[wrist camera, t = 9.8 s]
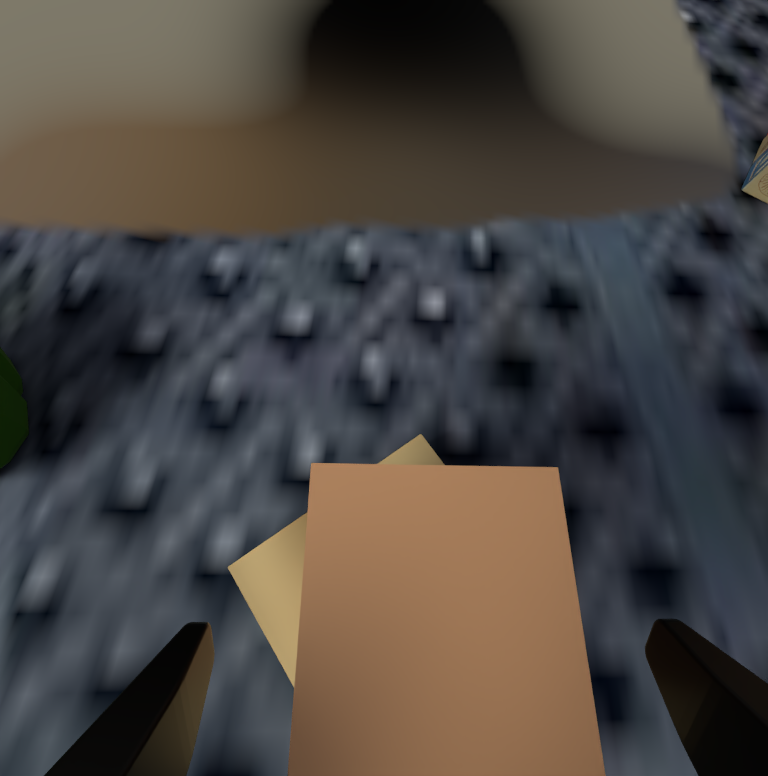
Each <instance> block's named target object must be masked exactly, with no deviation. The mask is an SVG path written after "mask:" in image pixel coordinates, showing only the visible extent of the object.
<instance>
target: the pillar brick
mask: <svg viewBox="0 0 768 776" xmlns="http://www.w3.org/2000/svg"><path fill="white" fill-rule="evenodd" d="M288 776H605V770H604V763H603V757H602V750H601V744H600V737H599V731H598V724H597V718H596V711H595V705H594V698H593V692H592V685H591V679H590V672H589V666H588V659H587V653H586V646H585V640H584V633H583V627H582V620H581V614H580V607H579V601H578V594H577V588H576V581H575V575H574V568H573V562H572V555H571V549H570V542H569V536H568V529H567V523H566V516H565V510H564V503H563V497H562V490H561V484H560V477H559V471H558V467H511V466H452V465H393V464H335V463H311V474H310V487H309V500H308V513H307V527H306V540H305V553H304V566H303V580H302V593H301V606H300V619H299V633H298V646H297V659H296V672H295V685H294V699H293V712H292V725H291V738H290V752H289V765H288Z"/></svg>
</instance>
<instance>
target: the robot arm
mask: <svg viewBox="0 0 768 776" xmlns="http://www.w3.org/2000/svg"><path fill="white" fill-rule="evenodd" d="M645 654H646V658H647V661H648V663H649V666H650V668H651V670H652V673H653V675H654V678H655V680H656V683H657V685H658V687H659V690H660V692H661V695H662V697H663V699H664V702H665V704H666V707H667V709H668V711H669V714H670V716H671V719H672V721H673V723H674V726H675V728H676V730H677V733H678V735H679V737H680V739H681V742H682V744H683V746H684V748H685V750H686V752H687V754H688V756H689V758H690V760H691V762H692V764H693V766H694V768H695V770H696V772H697V774H698V776H768V684H767V683H766V682H765V681H763V680H762V679H760V678H759V677H758V676H756V675H755V674H754V673H752V672H751V671H749V670H748V669H747V668H745V667H744V666H742V665H741V664H740V663H738V662H737V661H736V660H734V659H733V658H731V657H730V656H729V655H727V654H726V653H724V652H723V651H722V650H720V649H719V648H718V647H716V646H715V645H713V644H712V643H711V642H709V641H708V640H706V639H705V638H704V637H702V636H701V635H699V634H698V633H697V632H695V631H694V630H693V629H691V628H690V627H688V626H687V625H686V624H684V623H683V622H681V621H679V620H677V619H657V620H656V621H655V622H654V624H653V627H652V629H651V632H650V635H649V637H648V640H647V643H646V646H645ZM213 662H214V646H213V638H212V631H211V626H210V624H209V623H208V622H190V623H188V624H186V625H185V626H184V627H183V628H182V629H181V630H180V631H179V632H178V633H177V634H176V635H175V636H174V637H173V638H172V639H171V641H170V642H169V643H168V644H167V645H166V646H165V647H164V648H163V649H162V650H161V651H160V652H159V653H158V654H157V655H156V657H155V658H154V659H153V660H152V661H151V662H150V663H149V664H148V665H147V666H146V667H145V668H144V669H143V670H142V671H141V673H140V674H139V675H138V676H137V677H136V678H135V679H134V680H133V681H132V682H131V683H130V684H129V685H128V686H127V688H126V689H125V690H124V691H123V692H122V693H121V694H120V695H119V696H118V697H117V698H116V699H115V700H114V701H113V702H112V704H111V705H110V706H109V707H108V708H107V709H106V710H105V711H104V712H103V713H102V714H101V715H100V716H99V717H98V718H97V720H96V721H95V722H94V723H93V724H92V725H91V726H90V727H89V728H88V729H87V730H86V731H85V732H84V733H83V735H82V736H81V737H80V738H79V739H78V740H77V741H76V742H75V743H74V744H73V745H72V746H71V747H70V748H69V749H68V751H67V752H66V753H65V754H64V755H63V756H62V757H61V758H60V759H59V760H58V761H57V762H56V763H55V764H54V765H53V767H52V768H51V769H50V770H49V771H48V772H47V773H46V774H45V775H44V776H186V774H187V771H188V768H189V765H190V761H191V758H192V754H193V750H194V746H195V742H196V738H197V733H198V729H199V725H200V720H201V716H202V711H203V707H204V703H205V698H206V694H207V689H208V685H209V680H210V676H211V672H212V667H213Z"/></svg>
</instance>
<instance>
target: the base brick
mask: <svg viewBox="0 0 768 776" xmlns="http://www.w3.org/2000/svg"><path fill="white" fill-rule="evenodd" d="M378 464H393V465H444V463H443V462H442V461H441V459H440V458H439V457H438V456H437V454H436V453H435V452H434V450H433V449H432V448H431V446H430V445H429V444H428V442H427V441H426V440H425V438H424V437H423V436H422V434H420V435H418V436H417V437H416V438H414V439H413V440H411V441H410V442H408V443H407V444H405V445H404V446H403V447H401V448H400V449H398V450H397V451H395V452H394V453H392V454H391V455H390V456H388V457H387V458H385V459H384V460H382V461H381V462H379V463H378ZM307 513H308V512H307ZM307 513H306V514H304V515H303V516H301V517H300V518H298V519H297V520H295V521H294V522H292V523H291V524H290V525H288V526H287V527H285V528H284V529H282V530H281V531H279V532H278V533H277V534H275V535H274V536H272V537H271V538H269V539H268V540H266V541H265V542H263V543H262V544H261V545H259V546H258V547H256V548H255V549H253V550H252V551H250V552H249V553H248V554H246V555H245V556H243V557H242V558H240V559H239V560H237V561H236V562H235V563H233V564H232V565H230V566H229V567H228V569H229V571H230V572H231V574H232V576H233V578H234V580H235V581H236V583H237V585H238V587H239V589H240V590H241V592H242V594H243V596H244V598H245V599H246V601H247V603H248V605H249V607H250V609H251V610H252V612H253V614H254V616H255V618H256V619H257V621H258V623H259V625H260V627H261V628H262V630H263V632H264V634H265V636H266V638H267V639H268V641H269V643H270V645H271V647H272V648H273V650H274V652H275V654H276V656H277V657H278V659H279V661H280V663H281V665H282V666H283V668H284V670H285V672H286V674H287V676H288V677H289V679H290V681H291V683H292V685H293V686H294V685H295V672H296V659H297V646H298V633H299V619H300V606H301V593H302V580H303V566H304V553H305V540H306V527H307Z"/></svg>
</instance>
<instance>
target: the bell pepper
mask: <svg viewBox="0 0 768 776" xmlns="http://www.w3.org/2000/svg"><path fill="white" fill-rule="evenodd" d="M22 393H23V386H22V379H21V377H20V375H19V374H18V372H17V370H16V368H15V367H14V365H13V363H12V362H11V360H10V359H9V357H8V356H7V355H6V354H5V352H4V351H3V350H2V349H1V347H0V468H2V467H3V466H5V465H6V464H7V463H9V462H10V461H11V460H12V458H13V457H14V455H15V454H16V452H17V451H18V449H19V448H20V446H21V445H22V443H23V442H24V440H25V439H26V437H27V436H28V434H29V426H28V411H27V402H26V401H25V400H24V399H23V398H22V397H21V395H22Z"/></svg>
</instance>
